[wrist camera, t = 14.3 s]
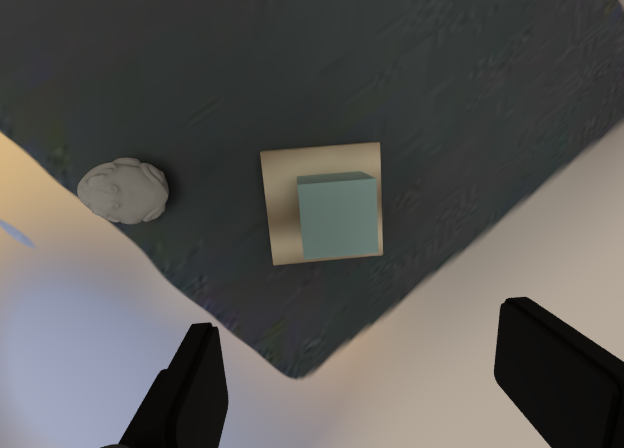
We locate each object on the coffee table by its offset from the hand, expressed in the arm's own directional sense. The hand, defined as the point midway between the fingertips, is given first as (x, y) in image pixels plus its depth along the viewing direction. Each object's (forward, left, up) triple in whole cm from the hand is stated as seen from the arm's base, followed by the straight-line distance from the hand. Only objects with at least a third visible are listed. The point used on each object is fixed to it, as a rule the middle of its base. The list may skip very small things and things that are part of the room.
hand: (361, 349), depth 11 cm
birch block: (0, +1, -25) cm, 25 cm away
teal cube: (0, +1, -21) cm, 21 cm away
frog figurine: (-3, -17, -25) cm, 30 cm away
